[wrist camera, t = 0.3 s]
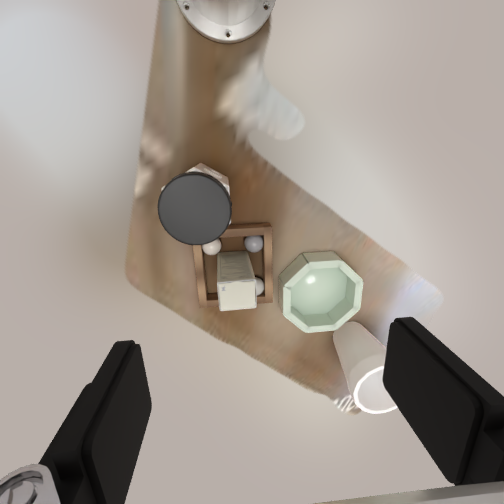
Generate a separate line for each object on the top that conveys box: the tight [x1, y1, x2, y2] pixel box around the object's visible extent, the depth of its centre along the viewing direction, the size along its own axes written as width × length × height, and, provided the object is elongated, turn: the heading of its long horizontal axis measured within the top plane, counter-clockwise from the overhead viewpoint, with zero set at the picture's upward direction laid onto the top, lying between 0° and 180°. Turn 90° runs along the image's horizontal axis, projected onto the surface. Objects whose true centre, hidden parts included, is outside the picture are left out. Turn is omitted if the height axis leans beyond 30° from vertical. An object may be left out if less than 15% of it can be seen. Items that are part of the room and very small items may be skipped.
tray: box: [193, 223, 273, 308], centre depth 46 cm, size 13×12×2 cm
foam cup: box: [333, 321, 398, 414], centre depth 48 cm, size 10×9×13 cm
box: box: [217, 251, 257, 311], centre depth 42 cm, size 5×4×11 cm
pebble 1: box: [202, 239, 221, 255], centre depth 44 cm, size 3×3×3 cm
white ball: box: [255, 277, 264, 295], centre depth 47 cm, size 3×3×3 cm
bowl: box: [279, 251, 363, 333], centre depth 48 cm, size 13×13×4 cm
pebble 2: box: [244, 235, 264, 253], centre depth 44 cm, size 3×3×3 cm
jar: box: [158, 163, 232, 245], centre depth 37 cm, size 9×8×12 cm
